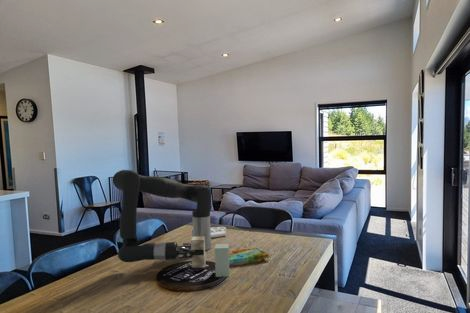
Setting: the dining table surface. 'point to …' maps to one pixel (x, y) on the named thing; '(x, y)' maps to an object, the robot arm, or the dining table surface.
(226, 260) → the sage block
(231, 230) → the dining table surface
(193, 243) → the birch block
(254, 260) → the puzzle game
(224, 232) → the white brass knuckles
